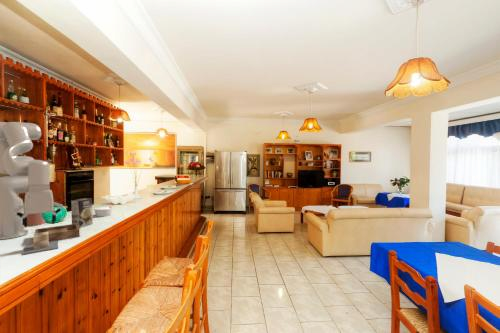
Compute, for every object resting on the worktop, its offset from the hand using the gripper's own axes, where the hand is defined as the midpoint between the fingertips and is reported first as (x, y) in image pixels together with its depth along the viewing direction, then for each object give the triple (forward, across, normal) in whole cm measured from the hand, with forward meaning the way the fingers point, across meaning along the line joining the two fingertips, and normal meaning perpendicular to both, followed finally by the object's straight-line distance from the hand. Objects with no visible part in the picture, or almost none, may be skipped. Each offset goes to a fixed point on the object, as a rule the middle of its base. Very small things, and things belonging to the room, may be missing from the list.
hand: (39, 224), depth 114 cm
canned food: (+13, -4, +53) cm, 55 cm away
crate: (+11, +6, +14) cm, 19 cm away
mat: (+11, 0, -1) cm, 11 cm away
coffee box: (+12, +18, +31) cm, 38 cm away
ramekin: (+12, +32, +53) cm, 63 cm away
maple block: (+10, 0, -1) cm, 10 cm away
